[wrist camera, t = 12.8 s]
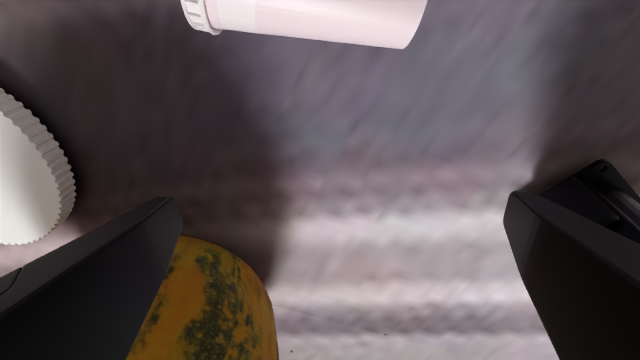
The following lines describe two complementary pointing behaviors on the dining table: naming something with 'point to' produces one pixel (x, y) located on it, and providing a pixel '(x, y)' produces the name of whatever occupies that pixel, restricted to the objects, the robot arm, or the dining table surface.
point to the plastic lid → (30, 176)
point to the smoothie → (312, 19)
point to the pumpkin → (208, 310)
